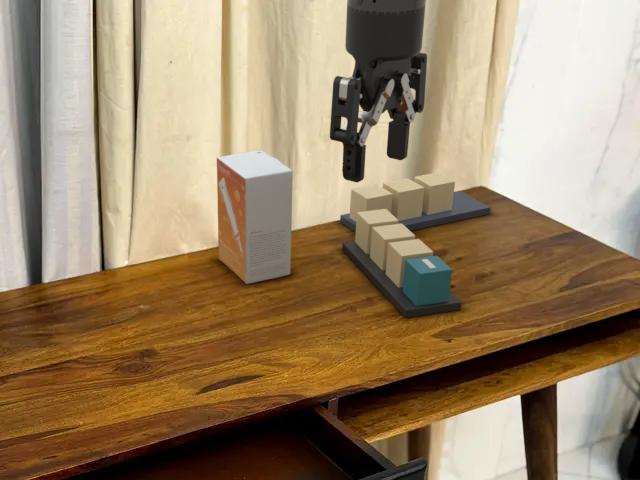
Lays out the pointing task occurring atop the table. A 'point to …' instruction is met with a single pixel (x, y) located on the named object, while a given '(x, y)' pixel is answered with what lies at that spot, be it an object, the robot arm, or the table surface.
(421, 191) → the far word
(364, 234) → the near word
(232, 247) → the small box
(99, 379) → the table surface
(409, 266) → the teal marked cube
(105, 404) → the table surface
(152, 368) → the table surface
